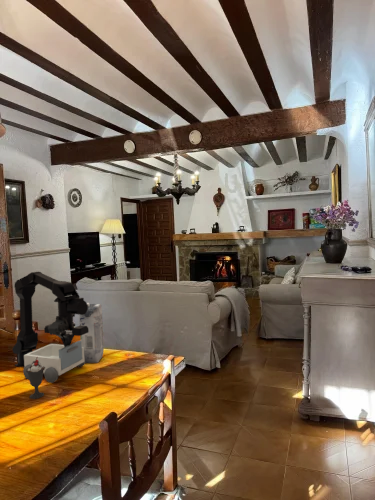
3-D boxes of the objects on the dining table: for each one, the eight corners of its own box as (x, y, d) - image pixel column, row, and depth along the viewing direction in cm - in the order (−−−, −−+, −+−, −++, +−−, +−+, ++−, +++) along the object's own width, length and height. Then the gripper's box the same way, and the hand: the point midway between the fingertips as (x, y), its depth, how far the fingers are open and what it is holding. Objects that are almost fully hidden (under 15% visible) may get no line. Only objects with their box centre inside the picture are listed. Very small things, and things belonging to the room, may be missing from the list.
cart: (22, 378, 148) (21, 356, 148) (54, 363, 166) (53, 342, 165) (57, 384, 142) (56, 360, 142) (86, 367, 159) (85, 346, 159)
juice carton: (105, 356, 173) (102, 300, 172) (99, 363, 163) (96, 304, 162) (86, 356, 174) (84, 301, 172) (79, 364, 163) (77, 305, 162)
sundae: (39, 400, 128) (37, 359, 127) (23, 399, 129) (20, 358, 129) (50, 392, 134) (48, 353, 134) (34, 391, 136) (32, 352, 135)
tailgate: (59, 369, 145) (58, 349, 144) (79, 358, 157) (79, 340, 156) (63, 370, 144) (63, 350, 144) (84, 359, 156) (83, 341, 156)
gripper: (33, 315, 146) (35, 353, 147) (70, 318, 139) (72, 358, 140) (53, 310, 156) (54, 345, 157) (88, 312, 150) (90, 349, 150)
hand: (67, 349), depth 151 cm, fingers closed
